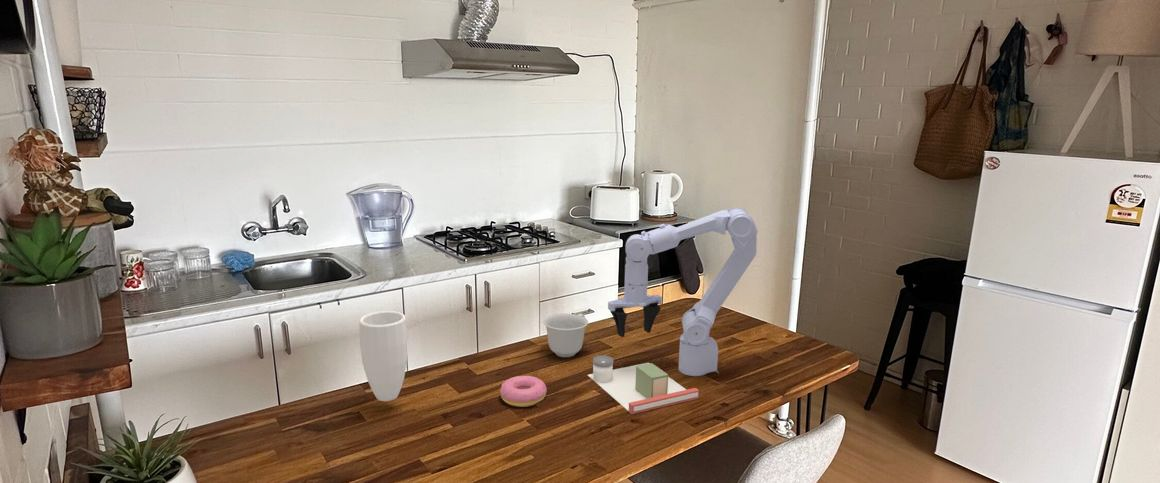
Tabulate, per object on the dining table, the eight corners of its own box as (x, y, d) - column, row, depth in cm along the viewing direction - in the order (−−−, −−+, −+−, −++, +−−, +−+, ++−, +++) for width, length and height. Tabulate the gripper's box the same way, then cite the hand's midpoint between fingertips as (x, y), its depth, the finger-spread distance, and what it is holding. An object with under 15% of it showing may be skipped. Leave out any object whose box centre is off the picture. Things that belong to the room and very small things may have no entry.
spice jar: (606, 372, 163) (607, 354, 162) (616, 380, 159) (616, 361, 158) (589, 376, 161) (589, 357, 160) (598, 384, 157) (598, 365, 155)
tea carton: (635, 389, 154) (636, 366, 153) (650, 386, 156) (651, 363, 155) (651, 402, 148) (652, 378, 147) (667, 398, 150) (668, 374, 149)
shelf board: (648, 365, 170) (648, 355, 169) (698, 401, 150) (699, 390, 150) (587, 377, 162) (587, 367, 161) (632, 417, 143) (632, 406, 142)
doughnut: (515, 384, 158) (515, 368, 157) (555, 394, 154) (555, 377, 153) (490, 403, 149) (490, 386, 148) (532, 414, 144) (531, 397, 143)
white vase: (420, 401, 148) (416, 313, 143) (394, 423, 139) (388, 329, 134) (382, 394, 152) (377, 307, 147) (353, 415, 142) (346, 322, 137)
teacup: (601, 349, 179) (602, 315, 177) (571, 368, 167) (572, 332, 165) (565, 340, 186) (565, 307, 183) (534, 358, 173) (534, 322, 171)
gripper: (617, 290, 155) (616, 343, 158) (669, 283, 161) (666, 334, 164) (604, 282, 161) (603, 333, 165) (654, 276, 167) (652, 325, 170)
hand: (634, 333), depth 165 cm, fingers open, 7 cm apart
